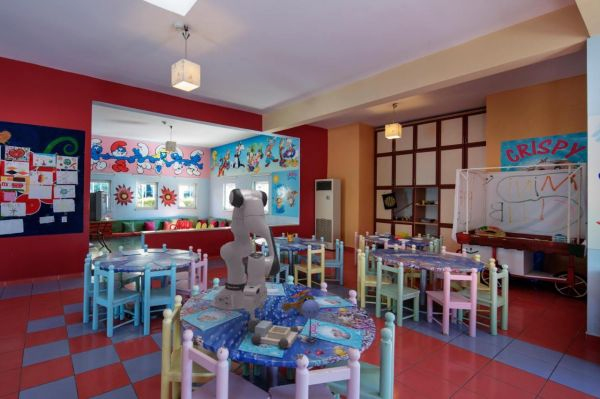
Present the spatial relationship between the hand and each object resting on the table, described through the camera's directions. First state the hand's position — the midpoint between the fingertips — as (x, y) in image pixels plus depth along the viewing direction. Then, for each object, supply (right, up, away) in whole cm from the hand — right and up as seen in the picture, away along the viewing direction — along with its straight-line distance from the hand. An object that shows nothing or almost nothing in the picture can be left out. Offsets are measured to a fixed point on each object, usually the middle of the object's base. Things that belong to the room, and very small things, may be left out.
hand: (256, 314), depth 153 cm
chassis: (+10, -8, -8) cm, 15 cm away
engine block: (-1, -8, 0) cm, 8 cm away
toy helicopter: (+21, -8, +23) cm, 32 cm away
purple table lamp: (+26, -9, -7) cm, 28 cm away
